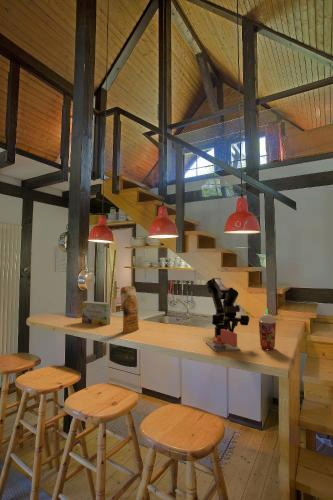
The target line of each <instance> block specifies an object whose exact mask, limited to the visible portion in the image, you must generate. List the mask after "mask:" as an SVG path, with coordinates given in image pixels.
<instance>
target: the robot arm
mask: <svg viewBox="0 0 333 500" xmlns="http://www.w3.org/2000/svg"><path fill="white" fill-rule="evenodd" d="M205 288H206V290H207V292H208V293H209V294H210V295H211V297H212V302H213V305H214V308H215V314H213V315H212V317H211V324H212V325H213V326H215V327H214V335H215V336H216V337H217V336H218V335H221V329H225V330H228V331H231V332H234V333H235V328H236V327H238V325H239V324H240V325H241V326H248V325H249V321H250V316H249V315H246V314H243V315H242V314H241V315H240V317H237V313H239V312H240V311H241V307H240V305H236V304H235V305H234V303H236V301H237V299H238V297H239V292H238V290H236V289H235V288H234V287H227V286H225V284H224V283H223V281H222V279H221V278H220V277H212V278H211V279H209V280H207V281H206V282H205Z"/></svg>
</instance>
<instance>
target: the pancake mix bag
mask: <svg viewBox="0 0 333 500" xmlns="http://www.w3.org/2000/svg"><path fill="white" fill-rule="evenodd" d="M120 299H121V309H122V318H123V319H122V321H123V322H122V326H123V327H122V334H129V333H130V334H131V333H133V332H135V331H138V330H139V329H140V327H139V305H138V304H139V303H138V295H137V289H136V287H135V285H131V286H130V285H129V286H123V287H121V288H120Z"/></svg>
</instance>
